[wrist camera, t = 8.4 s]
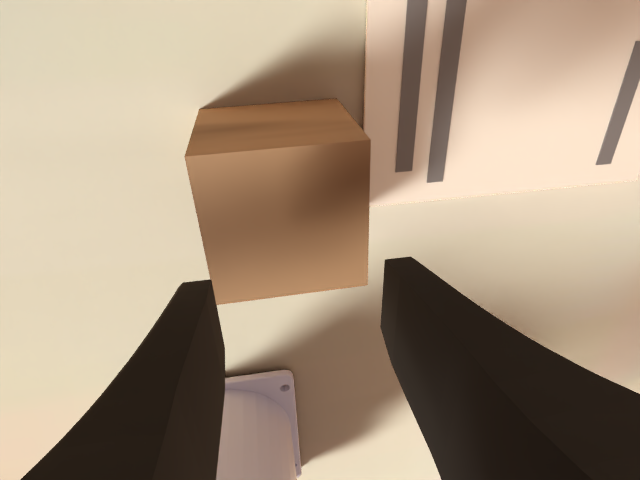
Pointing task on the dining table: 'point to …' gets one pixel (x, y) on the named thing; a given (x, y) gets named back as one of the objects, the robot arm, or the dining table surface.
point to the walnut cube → (281, 198)
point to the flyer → (500, 96)
